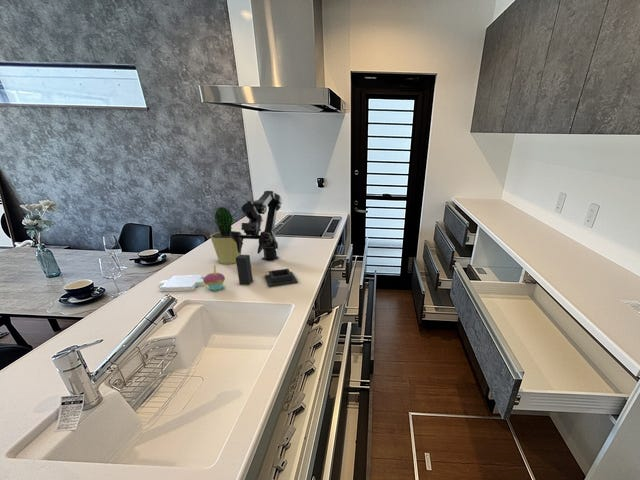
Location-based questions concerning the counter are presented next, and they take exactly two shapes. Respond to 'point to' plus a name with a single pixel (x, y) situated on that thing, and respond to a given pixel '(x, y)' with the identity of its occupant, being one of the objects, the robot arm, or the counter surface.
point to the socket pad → (280, 278)
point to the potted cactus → (224, 237)
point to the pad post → (244, 269)
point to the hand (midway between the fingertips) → (248, 253)
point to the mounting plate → (182, 283)
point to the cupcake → (214, 280)
